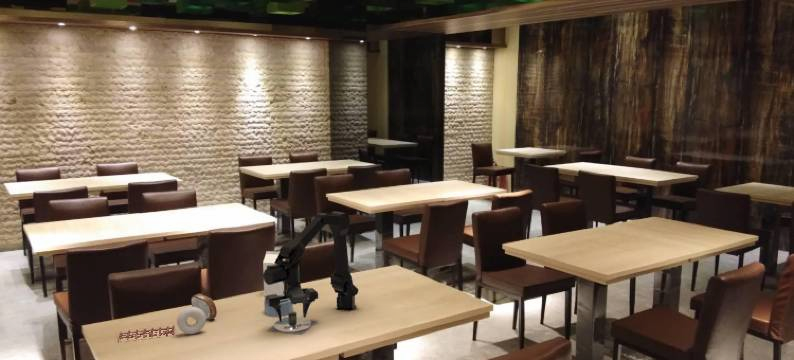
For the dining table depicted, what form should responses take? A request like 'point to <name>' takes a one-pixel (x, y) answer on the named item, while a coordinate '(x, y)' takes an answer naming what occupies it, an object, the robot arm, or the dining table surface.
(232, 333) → the dining table surface
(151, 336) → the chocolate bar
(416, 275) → the dining table surface
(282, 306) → the blue bowl
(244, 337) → the dining table surface
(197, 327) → the donut
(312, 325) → the mat
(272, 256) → the milk carton
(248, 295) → the dining table surface
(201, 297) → the tin
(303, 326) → the lid
